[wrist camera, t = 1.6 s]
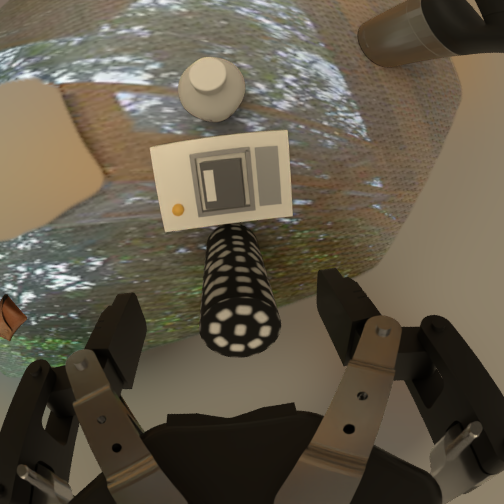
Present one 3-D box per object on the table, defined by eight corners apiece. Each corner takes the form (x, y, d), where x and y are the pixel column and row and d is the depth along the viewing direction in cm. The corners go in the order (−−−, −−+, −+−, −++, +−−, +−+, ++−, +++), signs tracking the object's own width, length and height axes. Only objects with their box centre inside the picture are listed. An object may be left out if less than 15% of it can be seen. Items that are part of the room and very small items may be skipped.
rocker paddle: (241, 157, 33) (239, 159, 32) (245, 202, 36) (244, 206, 34) (202, 161, 34) (199, 163, 32) (208, 205, 37) (205, 209, 35)
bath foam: (231, 72, 33) (240, 25, 16) (244, 114, 37) (264, 102, 19) (185, 85, 34) (152, 50, 16) (198, 128, 37) (175, 128, 19)
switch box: (279, 129, 38) (289, 130, 32) (285, 206, 43) (294, 218, 38) (158, 145, 37) (147, 148, 31) (171, 220, 42) (163, 235, 37)
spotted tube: (253, 272, 48) (272, 358, 30) (204, 267, 46) (197, 355, 28) (261, 226, 44) (289, 299, 26) (209, 220, 43) (201, 292, 25)
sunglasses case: (10, 343, 50) (-7, 348, 44) (2, 321, 51) (-15, 324, 45) (28, 317, 47) (8, 322, 41) (19, 291, 48) (-2, 294, 42)
